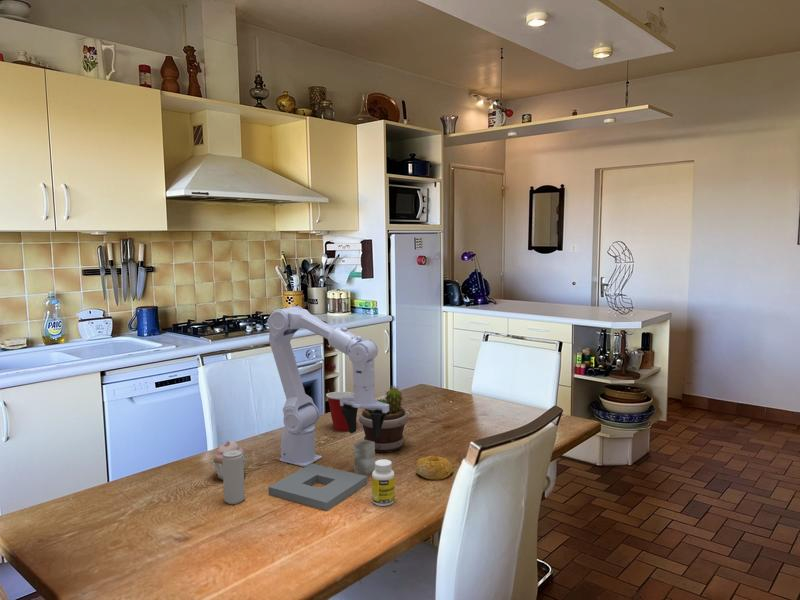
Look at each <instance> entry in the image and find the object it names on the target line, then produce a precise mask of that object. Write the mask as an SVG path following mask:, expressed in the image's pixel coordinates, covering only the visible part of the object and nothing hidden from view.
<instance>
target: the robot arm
mask: <svg viewBox="0 0 800 600" xmlns="http://www.w3.org/2000/svg"><path fill="white" fill-rule="evenodd" d="M266 322H267V325H268V329H269V334H268V335H269V337H268V342H269V345H270V348H271V351H272V355H273V358H274V361H275V365H276V369H277V371H278V375H279V379H280V382H281V385H282V388H283V392H284V395H285V399H286V401H285V403H284V405H283V407H282V412H283V424H284V428H285V429H284V430H283V431H282V433H281V437H280V450H281V451H280V454H281V455H280V458H279V461H280V462H282V463H283V462H284V463H286V464H287V463H288V464H290V465H291V464H292V465H295V466H300V467H302V468H304V467H306V466H308V465H310V464H312V463H313V464H314V462H317V461H319V460H320V459H323V456H322V455H319V454H316V430H315V429H316V423H317V422H319V419H320V411H319V408H318V407H317V406H316V404H315V403H314V400H313V398H312V397H311V396H310V395H308V394H306V391H305V387H304V385H303V382H302V377H301V374H300V371H299V367H298V365H297V362H296V358H295V354H294V351H293V347H292V345H291V341H292V338H293V337H294V335H295V334H296V333H297V332H298V331H299V330H300V329H305V330H307V331H310V332H311V333H314V334H316V335H318V336H320V337H322V338H324V339H326V340H327V341H328V344H329V346H330V347H332V348H334V349H336V350H337V351H338V352H341V353H342V354H344V355H346V356H348V358H349V360H350V361H351V364H352V385H353V386H352V388H353V389H352V391H353V398H347V397H343V398H341V399H340V406H344V407H343V408H342V409H341V412H342V414H343V415H344V417H345V419H346V422H347V425H348V428H349V431H348V432H349V434H352V435H353V434H354V433H355V432H357V417H358V410H359V409H363V410H365V409H369V410H375V412H373V413H371V414H370V416H371V419H372V424H373V437H374V438H377V437H379V436H380V431H381V427H382V424H383V422H384V419H385V417H386V415H387V414H388V412H389V404H385V403H382V402H379V401H377V399H376V397H375V394H376V393H375V391H376V390H375V384H376V382H375V358H376V357H377V356H378V353H379V349H378V345H377V343H375V342H374V341H373V340H372V339H371V338H366V339H363V337H362V336H361V335H355V334H354V333H352V332H351V331H348V328H347V327H346V326H343V327H342V326H338V327H336V328H334V327H333V326H331V325H329V324H328V323H326V322H324V321H323V320H321V319H320V318H318V317H316V316H315V315H313V314H312V313H310V312H309V310H308V309H305V308H302V307H301V306H299V305H294V306H291V307H286V308H285V307H284V308H281V309H280V308H278V309H275V310H273V311H272V312H271V313H270V315H269V317H268V318H267V320H266ZM375 399H376V400H375Z"/></svg>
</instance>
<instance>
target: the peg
mask: <svg viewBox="0 0 800 600" xmlns="http://www.w3.org/2000/svg"><path fill="white" fill-rule="evenodd" d="M353 447H354V448H353V451H354V452H353V453H354V473H355V474H359V475H363V476H368V475H370V474H372V473H373V471H374V470H375V462H376V452H375V442H373V441H368V440H364V438H363V439H361V440H359V441H357V442H355V443H354V444H353Z"/></svg>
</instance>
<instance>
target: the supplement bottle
mask: <svg viewBox="0 0 800 600" xmlns="http://www.w3.org/2000/svg"><path fill="white" fill-rule="evenodd" d="M392 468H393V466H392V461H391V460H389V459H378V460H375V470H374V471H373V472H372V473H371V501H372V503H373V504H374V505H376V506H378V507H387V506H390V505H392V504H394V503H395V497H396V496H395V492H396V491H395V471H394V470H393V469H392Z"/></svg>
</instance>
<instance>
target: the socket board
mask: <svg viewBox="0 0 800 600" xmlns="http://www.w3.org/2000/svg"><path fill="white" fill-rule="evenodd" d="M316 482H317V483H319V484H323V485H324V486H322V487H317V486H313V485H315V484H317V483H316ZM367 484H368V475H363V474H359V473H355V472H350V471H345V470H341V469H338V468H333V467H328V466H324V465H321V464H317V463H314V462H313V463H311V464H309V465H307V466H305V467H302V468H300V469H299V470H297V471H295V472H294V473H291V474H290V475H288V476H286V477H284V478H282V479H281V480H278V481H276V482H274V483H273V484H271V485H269V486H268V495H269V496H272V497H275V498H279V499H280V498H281V499H284V500H287V501H291V502H295V503H298V504H300V505H303V506H308V507H310V508H311V507H312V508H315V509H318V510H321V509H322V510H321V511H326V512H328V511H329V510H330V509H332V508H334V507H335V506H336V505H338V504H340V503H341V502H343V501H344V500H346V499H347V498H348V497H350V496H351V495H353V494H354V493H356V492H357V491H359V490H360V489H362V488H363V487H364V486H366V485H367ZM311 485H312V486H311Z"/></svg>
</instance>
